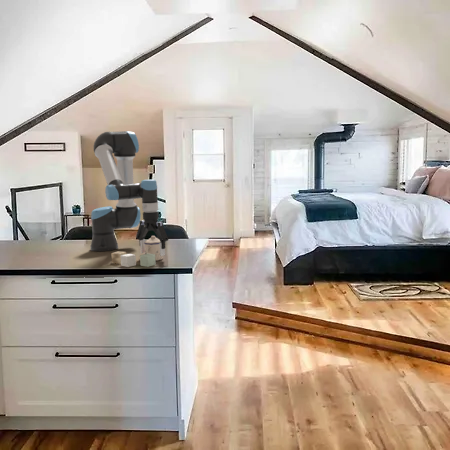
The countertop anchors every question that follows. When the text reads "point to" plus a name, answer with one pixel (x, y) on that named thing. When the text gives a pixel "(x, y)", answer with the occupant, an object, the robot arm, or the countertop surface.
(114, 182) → the robot arm
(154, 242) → the teacup with lid
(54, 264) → the countertop surface
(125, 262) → the white painted cube
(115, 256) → the maple cube
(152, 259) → the sage painted cube
